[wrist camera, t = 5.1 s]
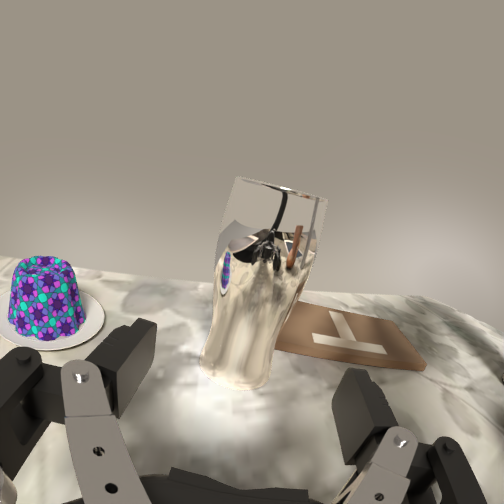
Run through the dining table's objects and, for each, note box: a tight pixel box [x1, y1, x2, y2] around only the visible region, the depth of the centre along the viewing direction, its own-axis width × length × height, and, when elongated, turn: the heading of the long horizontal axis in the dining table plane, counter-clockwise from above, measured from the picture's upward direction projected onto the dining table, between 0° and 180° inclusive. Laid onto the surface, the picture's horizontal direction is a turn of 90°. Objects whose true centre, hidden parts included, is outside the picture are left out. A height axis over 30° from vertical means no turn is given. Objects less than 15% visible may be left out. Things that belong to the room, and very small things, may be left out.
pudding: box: [0, 256, 105, 350], centre depth 21 cm, size 12×12×5 cm
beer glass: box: [199, 176, 328, 391], centre depth 21 cm, size 7×7×15 cm
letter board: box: [275, 301, 427, 371], centre depth 33 cm, size 20×12×1 cm, turn 87°
